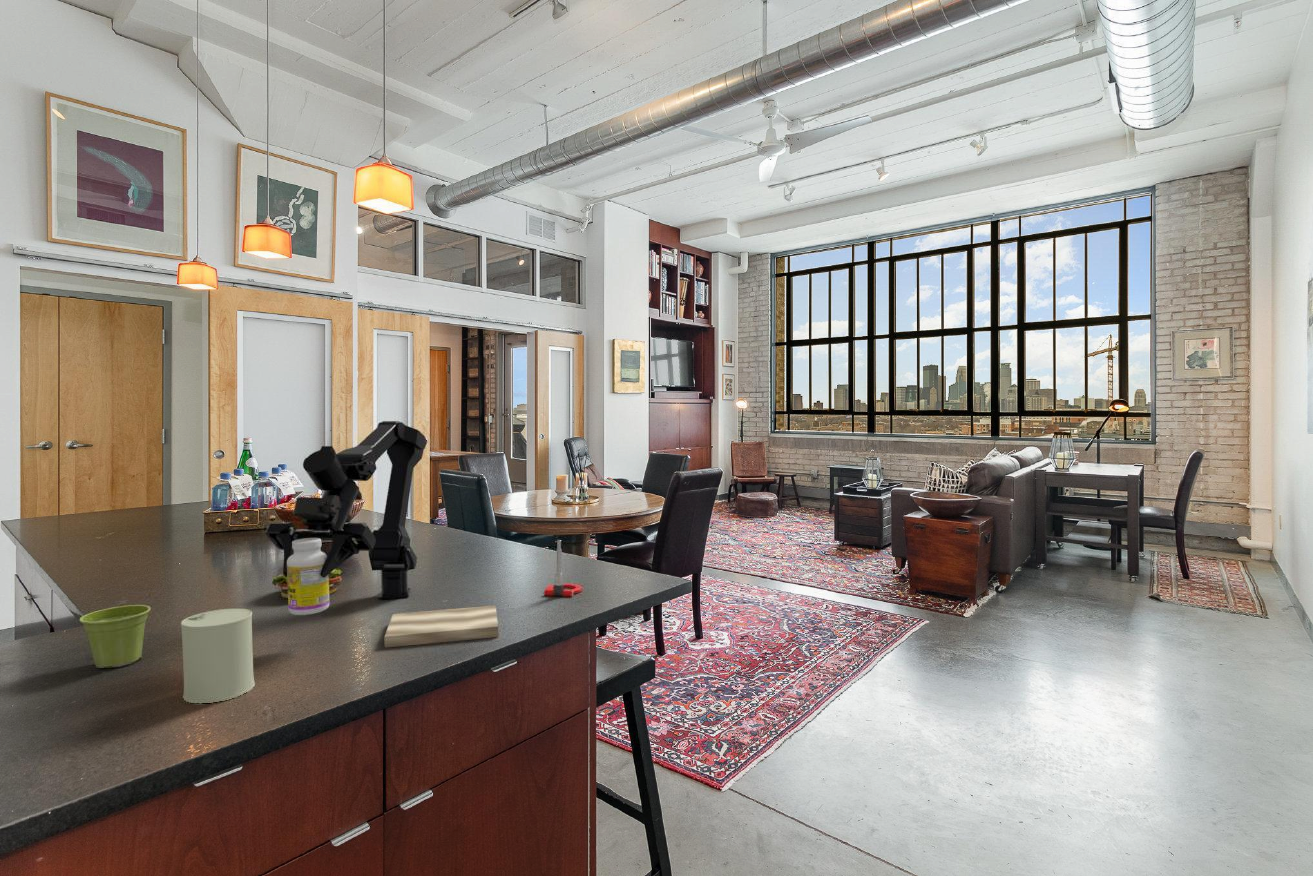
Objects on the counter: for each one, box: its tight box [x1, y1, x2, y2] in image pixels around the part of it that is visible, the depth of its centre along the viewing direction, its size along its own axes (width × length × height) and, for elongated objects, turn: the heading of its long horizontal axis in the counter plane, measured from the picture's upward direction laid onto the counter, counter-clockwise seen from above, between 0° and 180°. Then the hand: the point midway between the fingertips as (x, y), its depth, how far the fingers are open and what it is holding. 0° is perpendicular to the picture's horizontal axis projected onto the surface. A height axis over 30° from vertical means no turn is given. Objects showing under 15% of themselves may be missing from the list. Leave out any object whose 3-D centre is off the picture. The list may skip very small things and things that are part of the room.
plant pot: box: [79, 604, 152, 666], centre depth 114 cm, size 9×9×9 cm
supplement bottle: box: [287, 538, 330, 616], centre depth 121 cm, size 7×7×13 cm
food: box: [271, 568, 343, 599], centre depth 157 cm, size 14×14×8 cm
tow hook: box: [543, 539, 583, 598], centre depth 157 cm, size 8×13×9 cm
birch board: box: [383, 605, 499, 648], centre depth 130 cm, size 14×20×2 cm
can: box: [180, 608, 256, 704], centre depth 102 cm, size 9×9×12 cm
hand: (303, 576), depth 119 cm, fingers closed on supplement bottle, 7 cm apart
